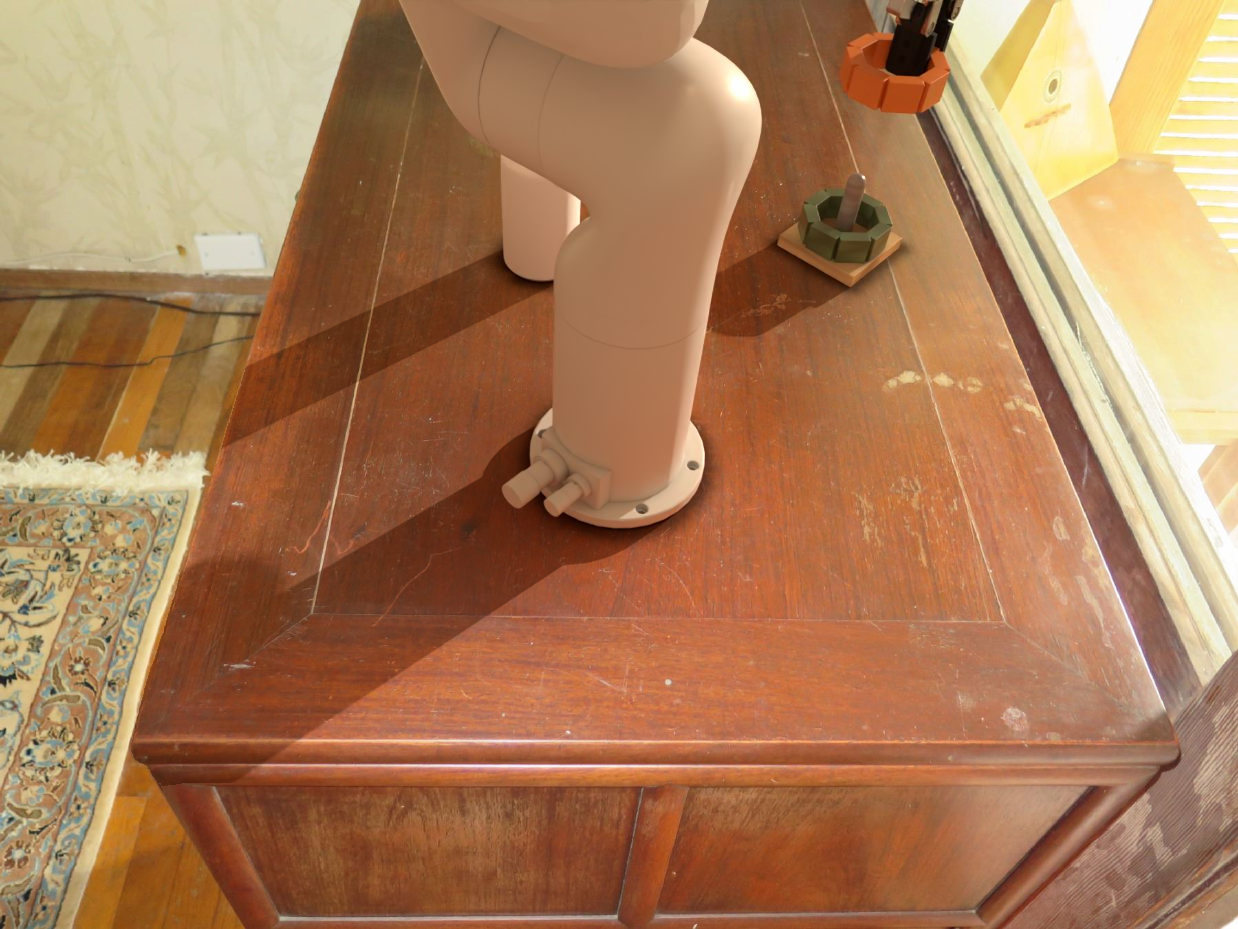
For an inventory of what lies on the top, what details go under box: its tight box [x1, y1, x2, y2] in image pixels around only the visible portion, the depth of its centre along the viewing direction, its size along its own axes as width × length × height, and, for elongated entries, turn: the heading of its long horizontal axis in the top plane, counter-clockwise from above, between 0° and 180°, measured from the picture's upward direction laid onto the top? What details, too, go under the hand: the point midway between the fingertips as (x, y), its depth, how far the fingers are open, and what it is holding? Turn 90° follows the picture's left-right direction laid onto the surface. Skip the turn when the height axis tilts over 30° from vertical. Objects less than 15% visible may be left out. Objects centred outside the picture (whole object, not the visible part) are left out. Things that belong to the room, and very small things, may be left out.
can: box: [499, 154, 582, 283], centre depth 81 cm, size 6×6×12 cm
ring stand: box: [776, 172, 903, 288], centre depth 87 cm, size 8×8×8 cm
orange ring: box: [838, 31, 951, 115], centre depth 76 cm, size 8×8×2 cm
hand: (911, 69), depth 78 cm, fingers closed on orange ring, 1 cm apart
